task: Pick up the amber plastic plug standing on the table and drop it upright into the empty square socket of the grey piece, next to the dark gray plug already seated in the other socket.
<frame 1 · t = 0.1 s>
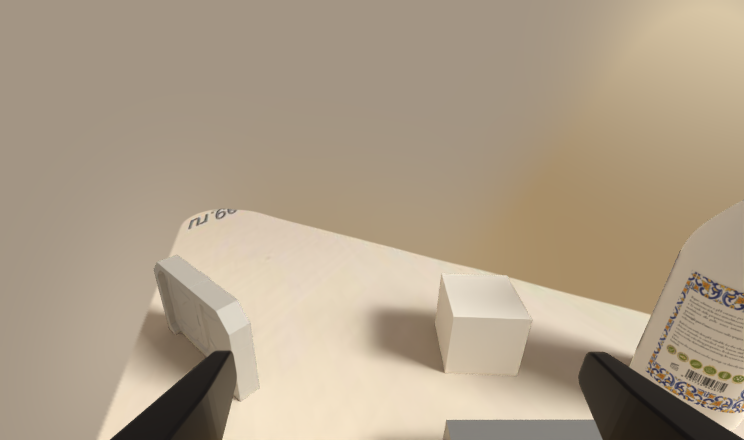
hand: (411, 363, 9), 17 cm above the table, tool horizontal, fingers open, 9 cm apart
light switch: (210, 357, 31), on the table
bath foam: (676, 397, 28), on the table
white cube: (472, 350, 32), on the table
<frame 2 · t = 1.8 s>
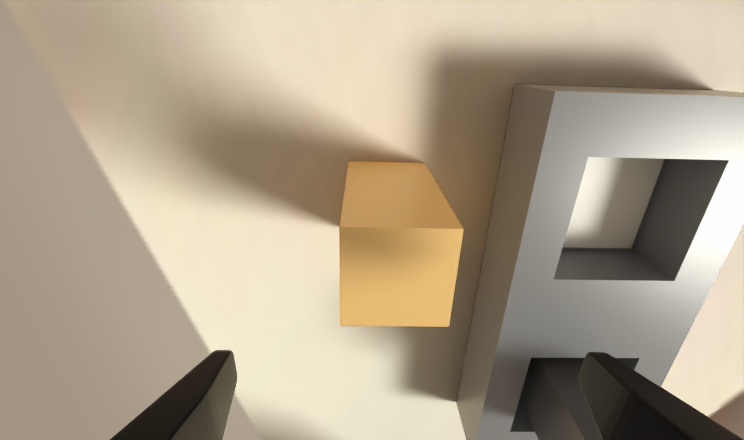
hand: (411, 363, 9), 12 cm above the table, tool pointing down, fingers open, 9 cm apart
grey piece: (559, 277, 22), on the table
dark gray plug: (546, 357, 23), point 1 cm above the table, touching grey piece
amber plug: (384, 197, 20), on the table
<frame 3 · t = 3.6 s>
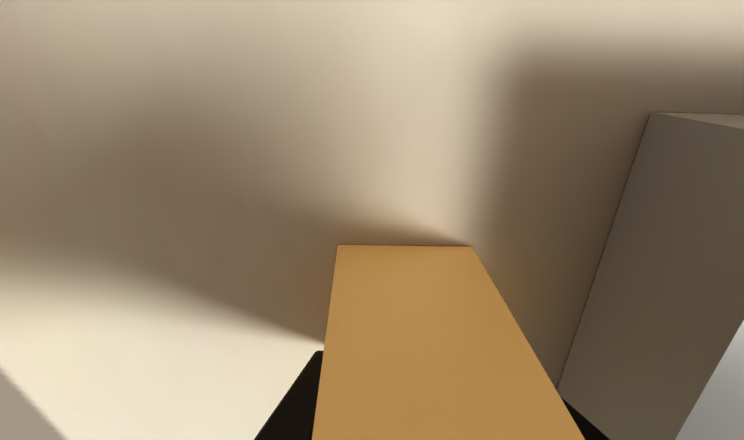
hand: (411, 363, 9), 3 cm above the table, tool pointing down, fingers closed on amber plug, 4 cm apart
grey piece: (676, 410, 14), on the table
amber plug: (401, 301, 11), on the table, touching gripper
when the fingers open (5 cm above the table, at t = 7.5 s): amber plug drops 1 cm, resting on grey piece.
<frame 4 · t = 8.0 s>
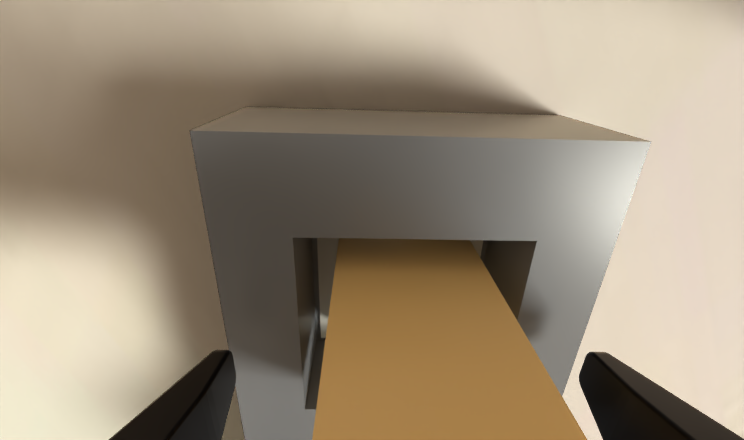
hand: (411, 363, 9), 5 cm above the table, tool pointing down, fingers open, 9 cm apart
grey piece: (388, 367, 16), on the table
amber plug: (397, 276, 13), point 1 cm above the table, touching grey piece
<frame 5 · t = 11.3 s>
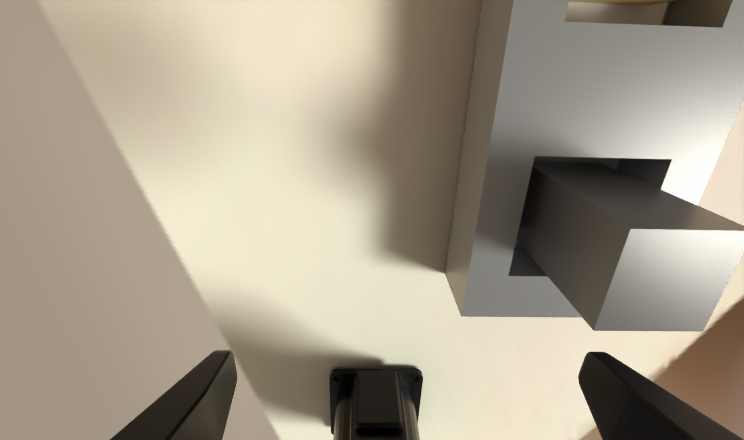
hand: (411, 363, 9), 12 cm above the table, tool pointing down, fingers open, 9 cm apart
grey piece: (569, 88, 18), on the table
dark gray plug: (553, 198, 19), point 1 cm above the table, touching grey piece
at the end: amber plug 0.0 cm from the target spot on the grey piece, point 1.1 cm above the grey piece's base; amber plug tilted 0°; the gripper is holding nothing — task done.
